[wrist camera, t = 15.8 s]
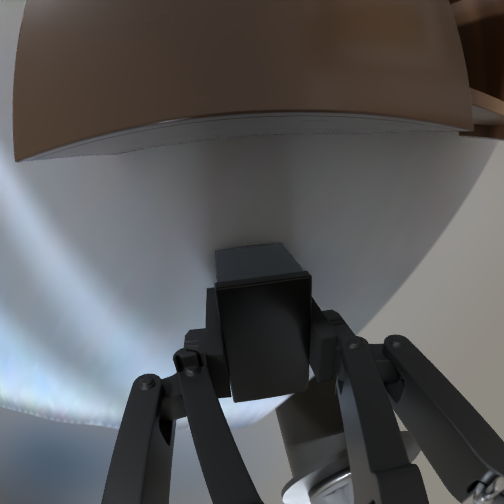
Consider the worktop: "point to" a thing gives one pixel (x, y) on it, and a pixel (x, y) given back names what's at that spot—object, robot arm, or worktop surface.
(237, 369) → the dark grey rectangular block
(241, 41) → the cabinet
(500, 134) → the drawer
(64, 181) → the worktop surface
